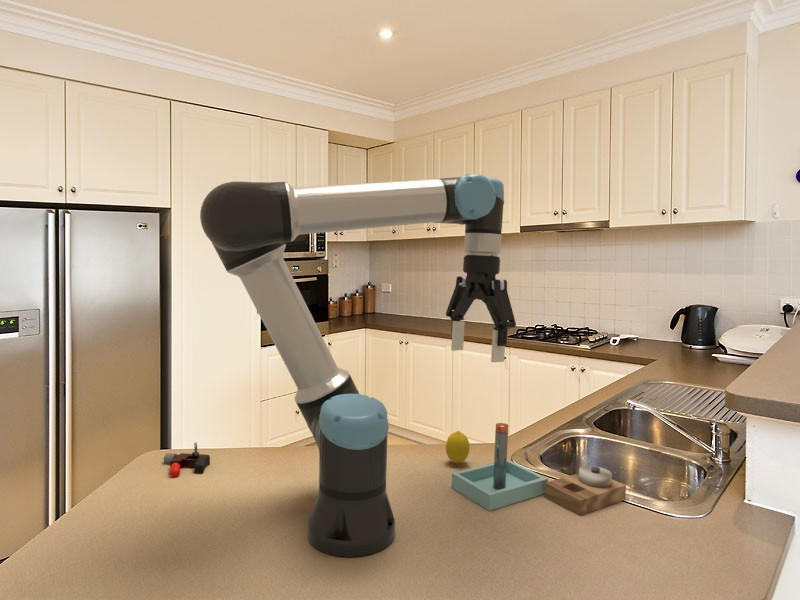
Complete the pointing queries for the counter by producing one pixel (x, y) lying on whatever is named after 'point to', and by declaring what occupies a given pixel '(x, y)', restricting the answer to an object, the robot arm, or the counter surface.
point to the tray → (517, 489)
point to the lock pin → (500, 456)
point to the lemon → (457, 447)
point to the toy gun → (187, 461)
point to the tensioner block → (585, 490)
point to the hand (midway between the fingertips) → (476, 355)
